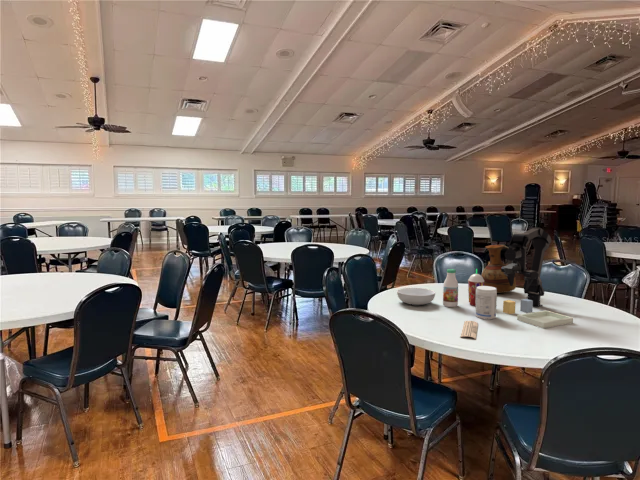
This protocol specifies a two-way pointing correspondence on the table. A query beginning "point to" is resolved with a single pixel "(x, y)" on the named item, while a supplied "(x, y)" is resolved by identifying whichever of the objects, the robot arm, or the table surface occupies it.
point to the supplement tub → (486, 302)
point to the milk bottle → (450, 289)
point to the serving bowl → (416, 295)
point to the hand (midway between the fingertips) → (518, 288)
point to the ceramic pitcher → (497, 271)
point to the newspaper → (469, 329)
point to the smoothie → (474, 287)
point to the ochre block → (509, 306)
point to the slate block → (526, 305)
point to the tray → (545, 319)
